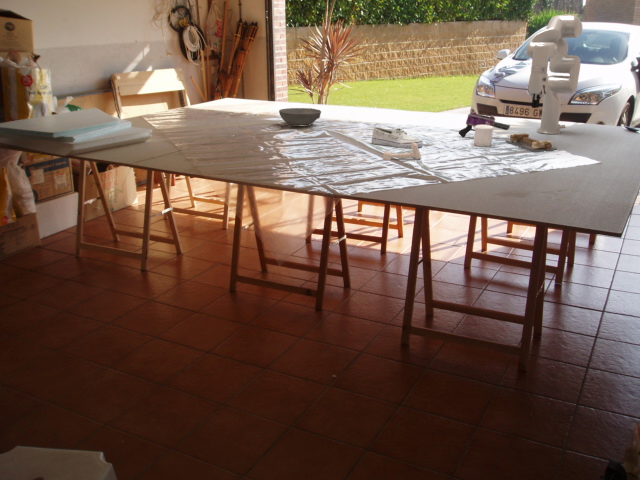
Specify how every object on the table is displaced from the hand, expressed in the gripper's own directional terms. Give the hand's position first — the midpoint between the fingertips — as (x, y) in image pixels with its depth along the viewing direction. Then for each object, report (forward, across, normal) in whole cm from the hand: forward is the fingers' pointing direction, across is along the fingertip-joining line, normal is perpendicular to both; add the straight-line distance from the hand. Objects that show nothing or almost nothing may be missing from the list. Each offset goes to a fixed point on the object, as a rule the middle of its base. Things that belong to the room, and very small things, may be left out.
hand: (535, 107), depth 298 cm
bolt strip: (+20, 0, 0) cm, 20 cm away
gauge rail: (+20, 0, +1) cm, 20 cm away
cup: (+20, +12, +21) cm, 32 cm away
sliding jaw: (+19, -9, +1) cm, 21 cm away
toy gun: (+20, +28, +11) cm, 37 cm away
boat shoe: (+20, +27, +64) cm, 72 cm away
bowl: (+20, +101, +98) cm, 142 cm away
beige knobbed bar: (+19, -3, +74) cm, 76 cm away
